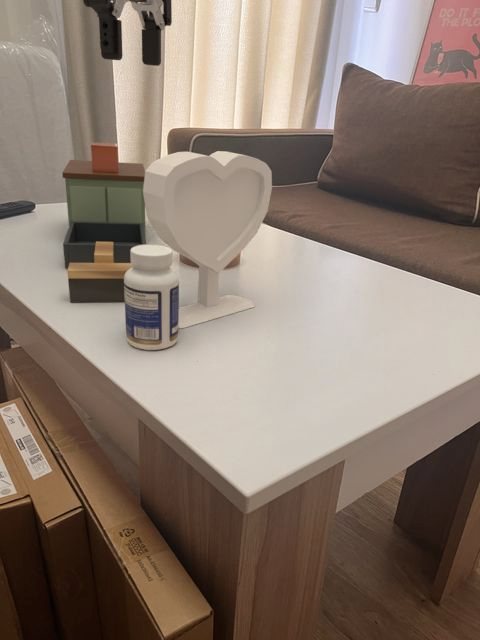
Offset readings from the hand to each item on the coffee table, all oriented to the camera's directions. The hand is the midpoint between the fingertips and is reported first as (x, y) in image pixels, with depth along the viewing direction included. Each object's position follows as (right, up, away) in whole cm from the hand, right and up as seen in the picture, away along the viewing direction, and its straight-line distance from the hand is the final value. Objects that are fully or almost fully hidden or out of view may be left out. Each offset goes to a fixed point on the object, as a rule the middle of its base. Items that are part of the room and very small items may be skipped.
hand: (132, 62), depth 60 cm
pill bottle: (+3, -32, -5) cm, 33 cm away
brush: (-5, -25, +7) cm, 27 cm away
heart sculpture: (+8, -29, +3) cm, 30 cm away
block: (-11, -4, +25) cm, 27 cm away
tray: (-9, -19, +20) cm, 29 cm away
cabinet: (-12, -12, +32) cm, 37 cm away
